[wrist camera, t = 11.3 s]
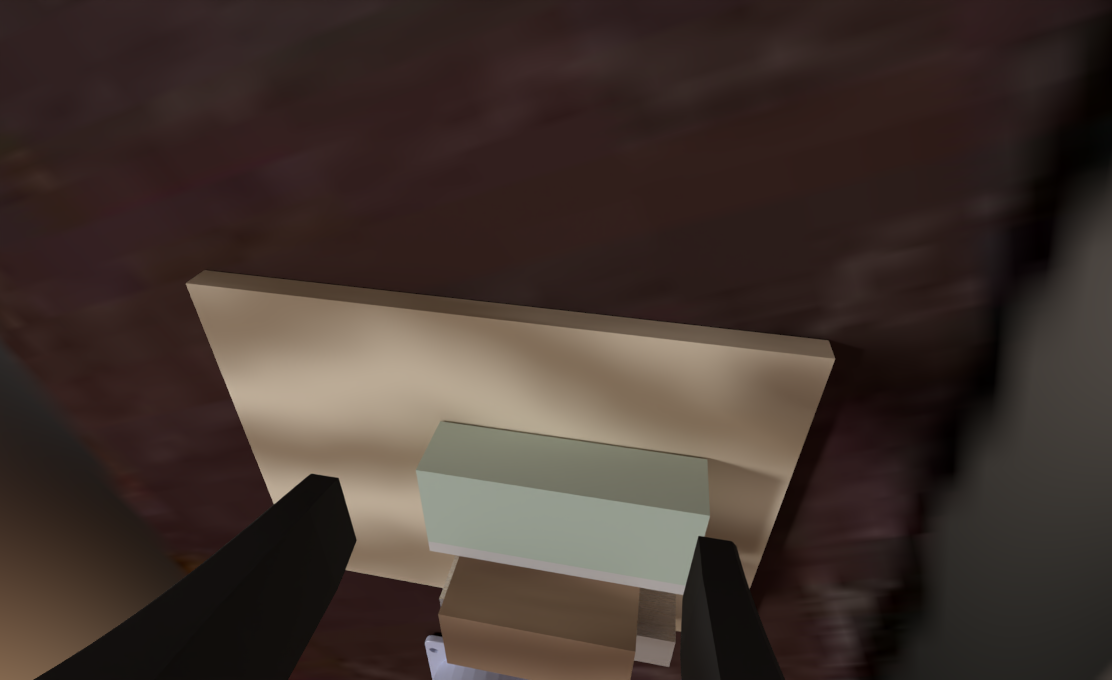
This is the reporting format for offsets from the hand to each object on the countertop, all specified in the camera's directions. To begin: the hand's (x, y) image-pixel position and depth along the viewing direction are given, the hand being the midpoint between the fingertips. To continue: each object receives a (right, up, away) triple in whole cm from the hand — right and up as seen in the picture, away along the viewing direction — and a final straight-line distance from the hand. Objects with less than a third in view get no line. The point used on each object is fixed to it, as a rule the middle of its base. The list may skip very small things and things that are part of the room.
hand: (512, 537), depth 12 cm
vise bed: (-1, -2, +13) cm, 13 cm away
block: (+1, -5, +14) cm, 14 cm away
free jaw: (+1, -2, +11) cm, 11 cm away
